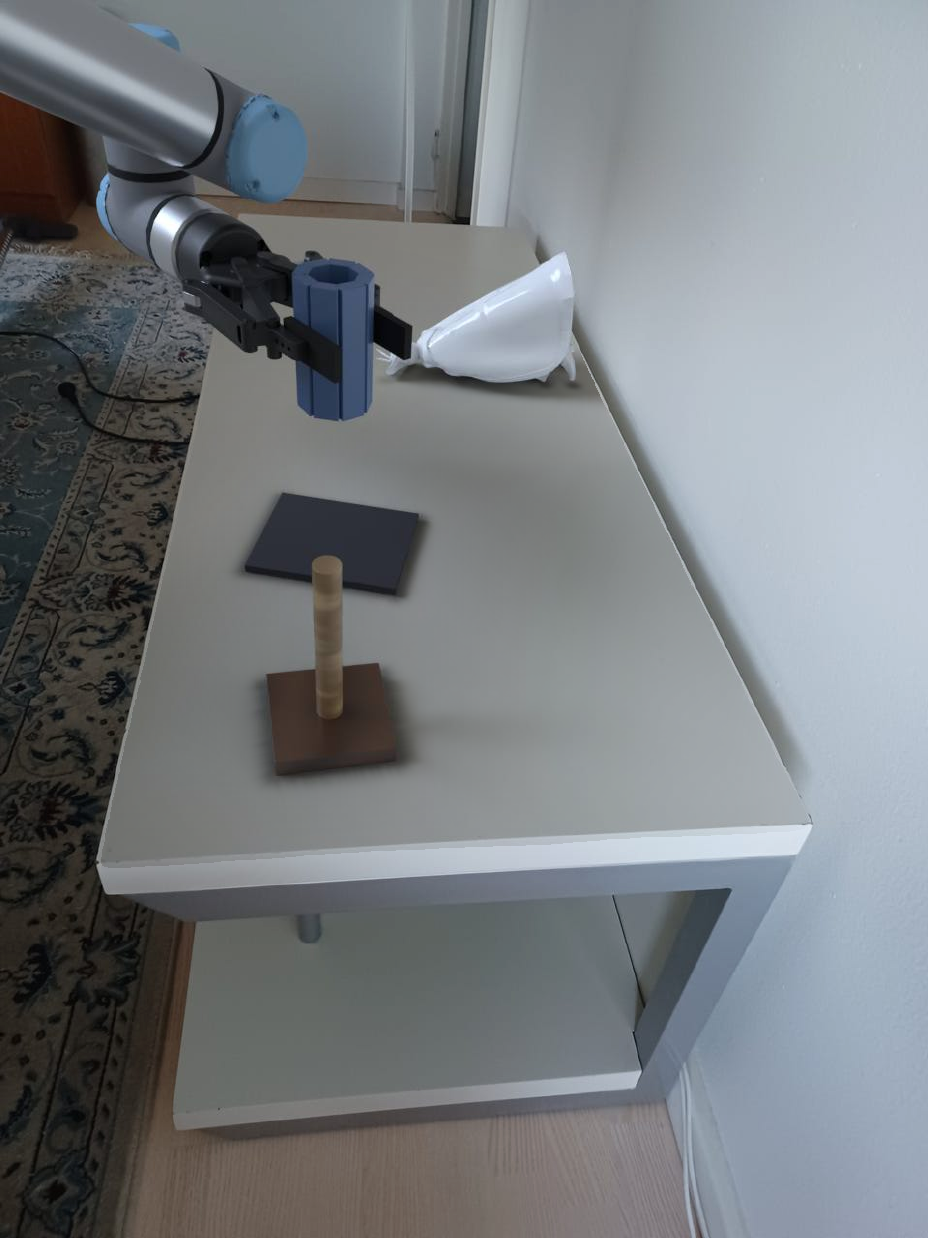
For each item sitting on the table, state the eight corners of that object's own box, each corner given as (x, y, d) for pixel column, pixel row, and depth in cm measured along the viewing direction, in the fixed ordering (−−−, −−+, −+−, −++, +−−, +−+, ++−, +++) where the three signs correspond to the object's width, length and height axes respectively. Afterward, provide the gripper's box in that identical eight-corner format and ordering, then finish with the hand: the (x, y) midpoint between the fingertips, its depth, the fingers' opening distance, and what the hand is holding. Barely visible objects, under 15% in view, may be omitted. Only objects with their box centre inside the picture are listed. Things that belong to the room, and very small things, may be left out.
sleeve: (290, 414, 74) (284, 282, 67) (309, 381, 79) (305, 254, 71) (361, 425, 74) (363, 294, 67) (377, 390, 79) (380, 264, 71)
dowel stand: (275, 775, 66) (262, 615, 55) (266, 686, 72) (253, 528, 62) (397, 760, 68) (406, 603, 57) (378, 675, 74) (383, 519, 64)
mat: (244, 571, 82) (244, 564, 82) (282, 498, 91) (282, 492, 91) (395, 595, 82) (395, 588, 81) (418, 519, 91) (419, 513, 90)
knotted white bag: (559, 363, 122) (373, 362, 119) (571, 237, 114) (372, 232, 110) (582, 396, 111) (378, 395, 108) (598, 259, 102) (377, 254, 99)
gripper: (302, 274, 89) (460, 366, 77) (120, 319, 78) (272, 434, 67) (299, 194, 84) (468, 280, 72) (104, 230, 73) (265, 338, 62)
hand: (373, 354), depth 70 cm, fingers closed on sleeve, 6 cm apart
